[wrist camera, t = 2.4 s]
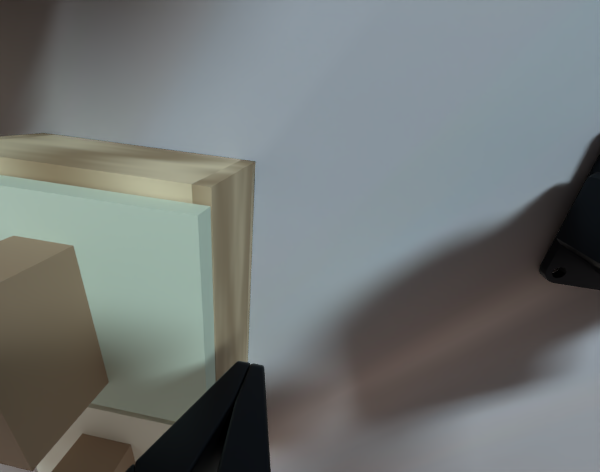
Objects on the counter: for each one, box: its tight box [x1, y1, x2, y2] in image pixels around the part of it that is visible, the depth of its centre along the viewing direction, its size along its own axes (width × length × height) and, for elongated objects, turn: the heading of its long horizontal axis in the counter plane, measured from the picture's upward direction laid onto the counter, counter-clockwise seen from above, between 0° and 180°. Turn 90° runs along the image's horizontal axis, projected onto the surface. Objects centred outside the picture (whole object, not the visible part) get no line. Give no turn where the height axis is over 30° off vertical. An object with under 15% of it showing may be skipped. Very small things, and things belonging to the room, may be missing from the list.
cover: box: [0, 175, 216, 471], centre depth 9 cm, size 10×9×4 cm
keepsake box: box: [0, 133, 255, 381], centre depth 15 cm, size 10×20×4 cm, turn 174°
